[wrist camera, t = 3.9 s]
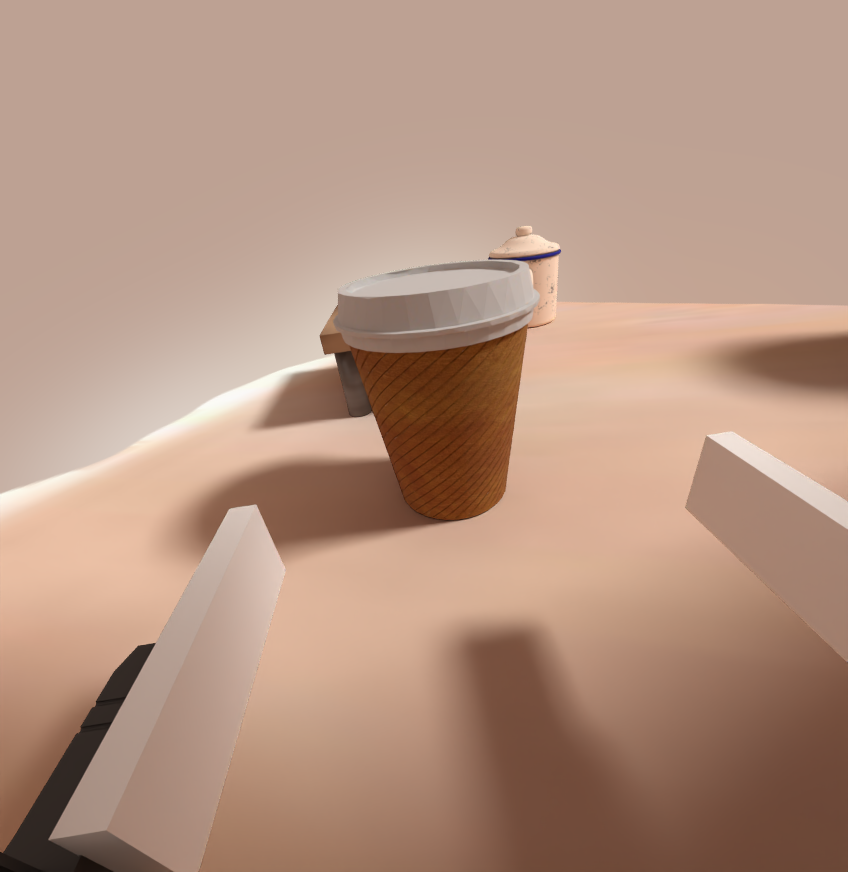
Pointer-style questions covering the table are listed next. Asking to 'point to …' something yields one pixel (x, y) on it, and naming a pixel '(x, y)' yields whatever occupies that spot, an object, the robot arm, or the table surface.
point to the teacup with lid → (535, 269)
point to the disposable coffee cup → (443, 374)
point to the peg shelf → (346, 369)
